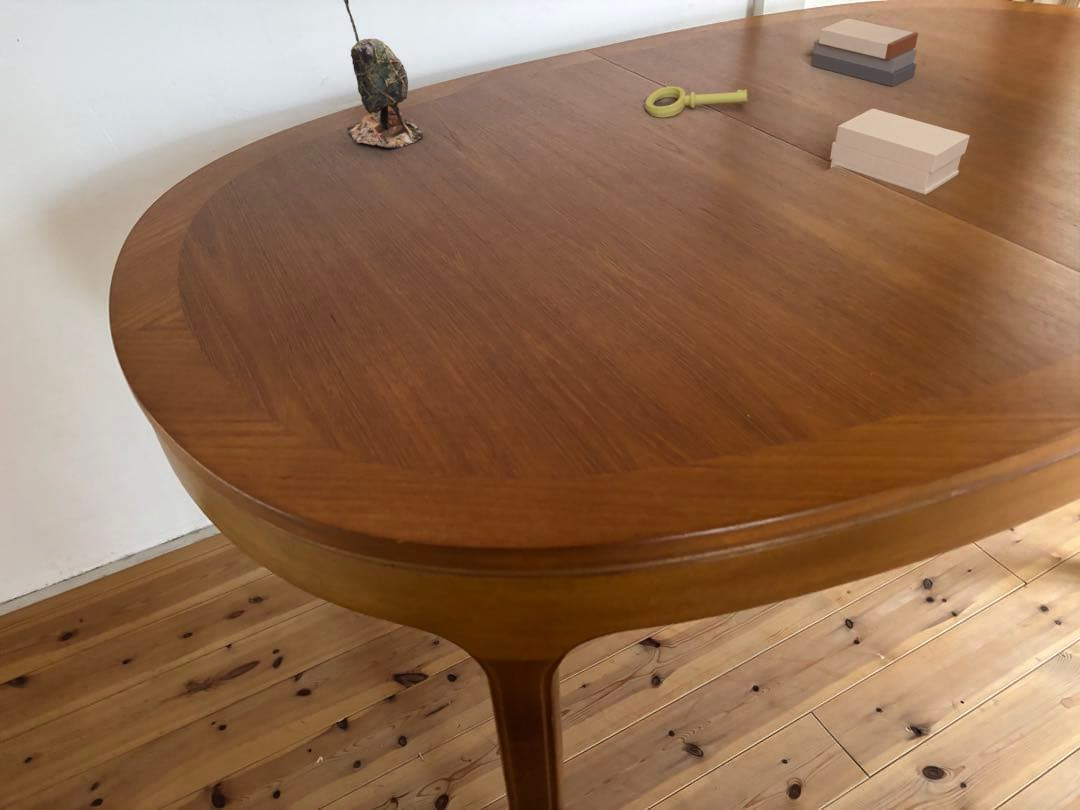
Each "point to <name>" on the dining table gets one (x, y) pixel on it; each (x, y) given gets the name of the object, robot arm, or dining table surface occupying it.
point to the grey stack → (864, 64)
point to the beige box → (899, 150)
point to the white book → (868, 38)
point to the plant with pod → (380, 94)
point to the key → (688, 100)
